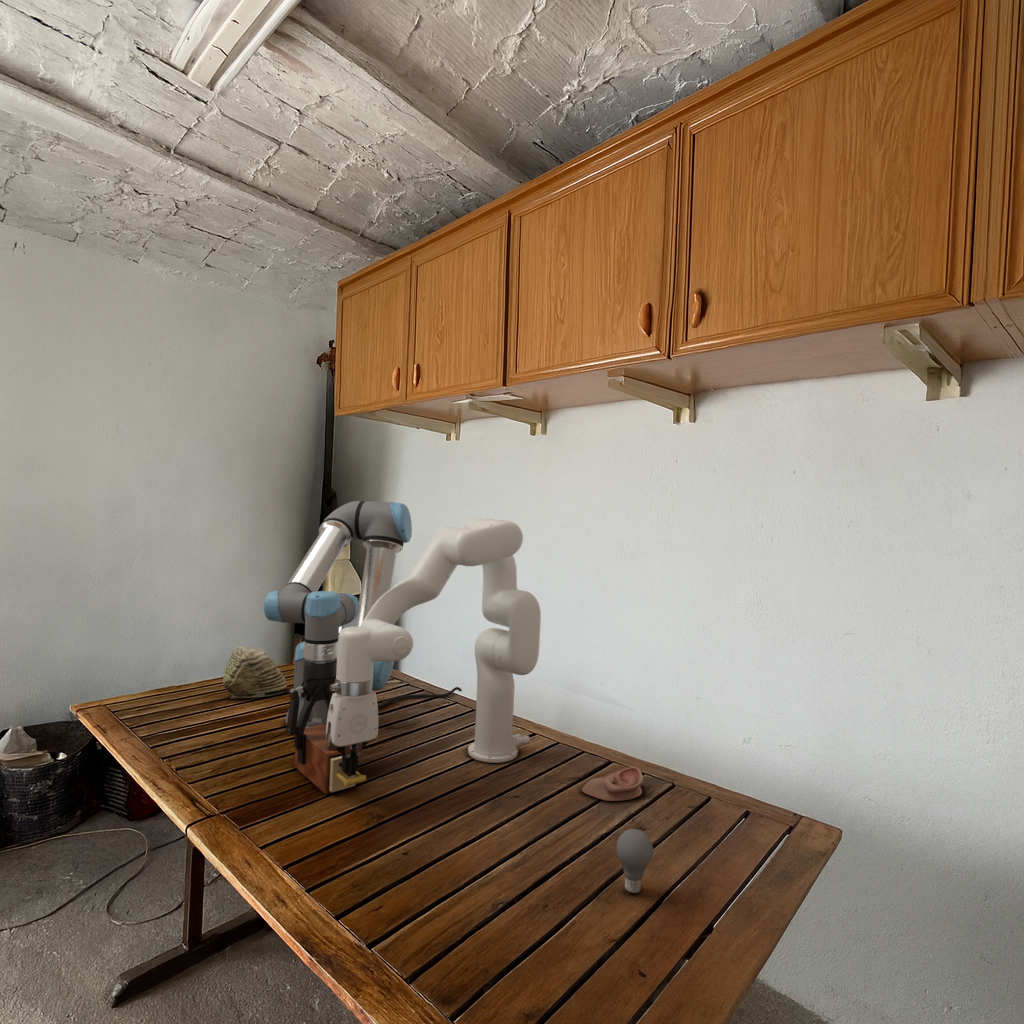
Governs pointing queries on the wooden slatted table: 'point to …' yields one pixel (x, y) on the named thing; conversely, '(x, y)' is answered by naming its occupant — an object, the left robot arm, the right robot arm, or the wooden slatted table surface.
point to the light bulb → (634, 857)
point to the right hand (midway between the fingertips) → (349, 773)
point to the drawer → (341, 775)
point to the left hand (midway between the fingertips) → (316, 758)
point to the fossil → (252, 674)
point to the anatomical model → (616, 785)
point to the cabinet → (316, 758)
